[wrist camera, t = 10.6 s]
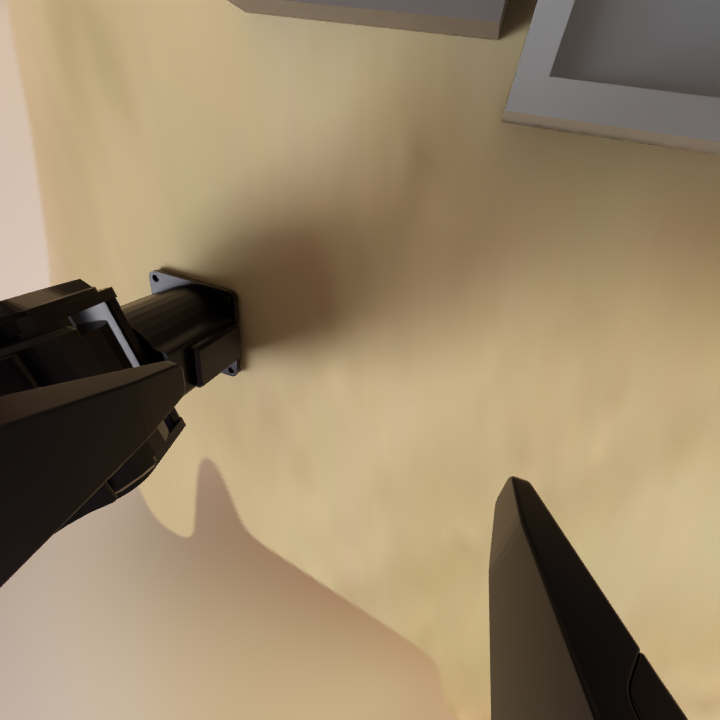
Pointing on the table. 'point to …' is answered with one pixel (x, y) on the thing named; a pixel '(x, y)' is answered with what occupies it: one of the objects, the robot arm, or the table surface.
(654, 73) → the parts tray
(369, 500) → the table surface
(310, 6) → the socket collar
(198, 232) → the table surface
